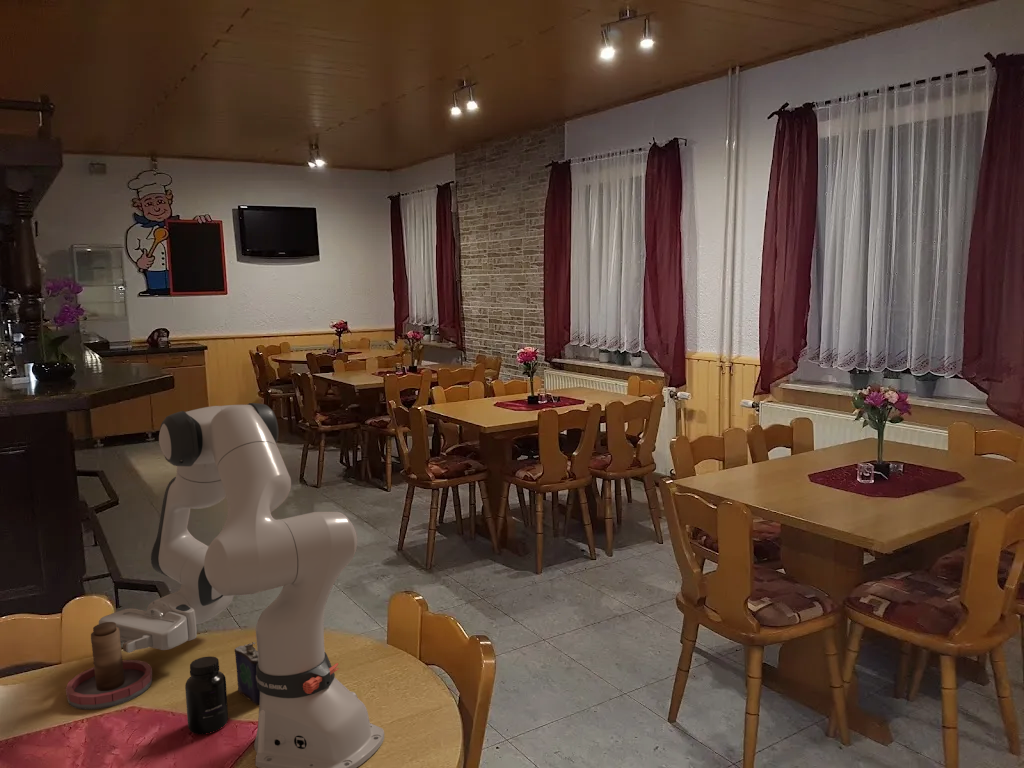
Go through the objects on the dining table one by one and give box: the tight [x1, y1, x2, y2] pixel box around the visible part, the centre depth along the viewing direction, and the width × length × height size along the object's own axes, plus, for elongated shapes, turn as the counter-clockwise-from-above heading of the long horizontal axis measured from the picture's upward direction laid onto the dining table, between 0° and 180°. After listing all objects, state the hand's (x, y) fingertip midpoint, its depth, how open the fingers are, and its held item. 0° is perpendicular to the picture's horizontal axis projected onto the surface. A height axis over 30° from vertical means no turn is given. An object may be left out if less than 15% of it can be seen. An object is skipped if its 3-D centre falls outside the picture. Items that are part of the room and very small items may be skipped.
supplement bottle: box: [184, 656, 229, 735], centre depth 140 cm, size 7×7×12 cm
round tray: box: [65, 659, 153, 711], centre depth 155 cm, size 15×15×2 cm
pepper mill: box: [90, 622, 125, 691], centre depth 154 cm, size 5×5×12 cm
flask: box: [234, 641, 260, 707], centre depth 150 cm, size 9×3×11 cm, turn 45°
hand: (109, 644), depth 155 cm, fingers open, 8 cm apart
